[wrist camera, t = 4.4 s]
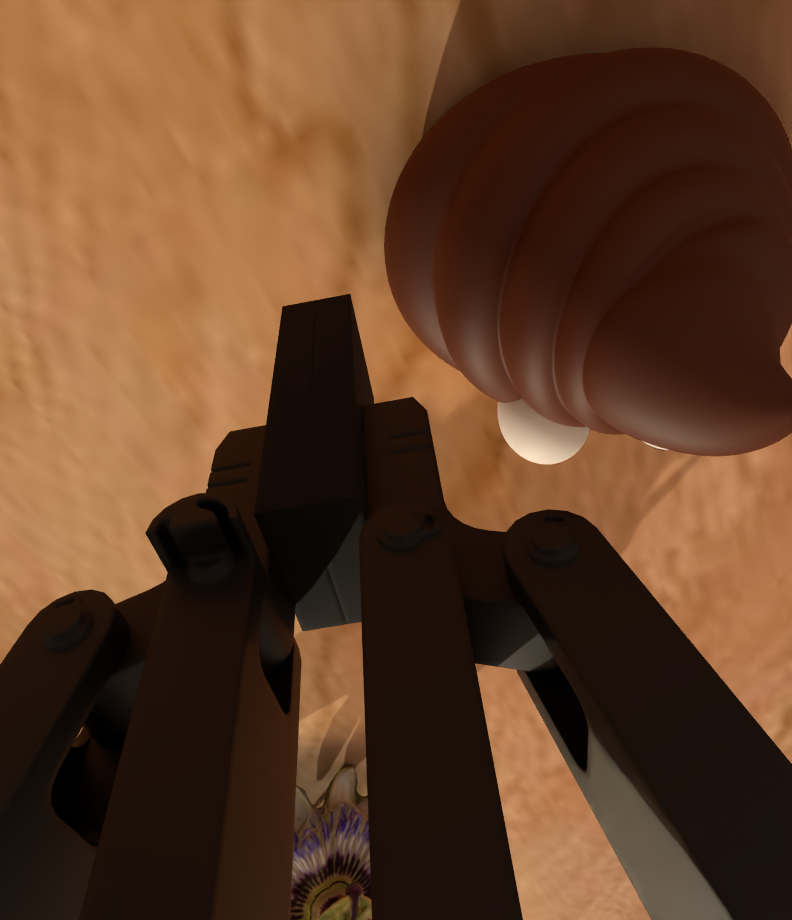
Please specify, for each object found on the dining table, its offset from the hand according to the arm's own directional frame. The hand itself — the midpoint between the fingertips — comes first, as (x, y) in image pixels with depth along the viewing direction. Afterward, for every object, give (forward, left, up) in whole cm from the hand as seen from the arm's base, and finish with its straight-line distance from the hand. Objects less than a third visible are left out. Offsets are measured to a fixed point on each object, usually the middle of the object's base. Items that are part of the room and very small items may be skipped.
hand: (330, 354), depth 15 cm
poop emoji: (0, +6, -4) cm, 8 cm away
